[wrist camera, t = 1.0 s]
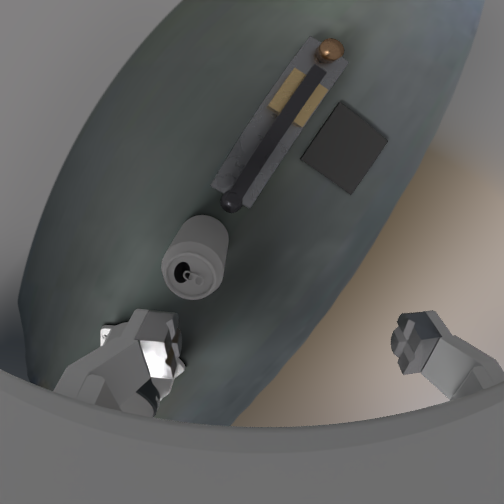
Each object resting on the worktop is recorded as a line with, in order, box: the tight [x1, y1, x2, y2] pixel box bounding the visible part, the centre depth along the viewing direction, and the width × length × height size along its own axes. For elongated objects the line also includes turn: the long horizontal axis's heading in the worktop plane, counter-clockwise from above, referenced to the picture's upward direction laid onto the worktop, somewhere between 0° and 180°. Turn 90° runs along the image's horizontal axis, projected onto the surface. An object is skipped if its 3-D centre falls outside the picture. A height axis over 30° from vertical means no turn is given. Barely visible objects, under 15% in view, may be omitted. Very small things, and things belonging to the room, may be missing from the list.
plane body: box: [210, 36, 349, 209], centre depth 32 cm, size 24×6×7 cm, turn 148°
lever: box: [221, 64, 327, 213], centre depth 29 cm, size 19×2×1 cm, turn 148°
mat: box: [300, 102, 388, 195], centre depth 36 cm, size 10×9×1 cm
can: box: [161, 215, 229, 300], centre depth 37 cm, size 8×8×12 cm
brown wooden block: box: [266, 68, 328, 127], centre depth 29 cm, size 6×4×4 cm
